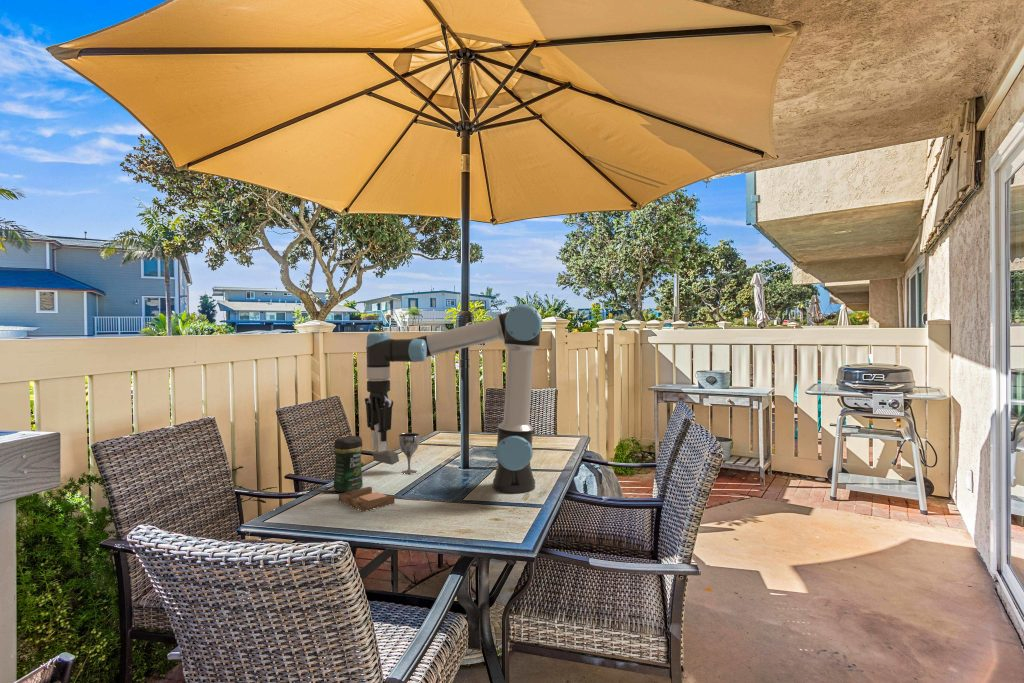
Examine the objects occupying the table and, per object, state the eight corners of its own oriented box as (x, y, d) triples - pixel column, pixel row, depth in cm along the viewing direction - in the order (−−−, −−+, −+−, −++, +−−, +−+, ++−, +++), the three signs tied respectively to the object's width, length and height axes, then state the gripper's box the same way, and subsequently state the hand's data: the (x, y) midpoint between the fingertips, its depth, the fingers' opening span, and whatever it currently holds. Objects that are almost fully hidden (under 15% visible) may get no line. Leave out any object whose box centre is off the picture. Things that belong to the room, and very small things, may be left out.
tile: (388, 502, 180) (388, 496, 180) (370, 507, 175) (370, 501, 175) (376, 497, 185) (376, 492, 185) (358, 502, 180) (358, 496, 180)
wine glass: (395, 474, 213) (395, 436, 213) (404, 469, 221) (403, 432, 220) (414, 475, 211) (414, 437, 211) (422, 470, 219) (422, 433, 219)
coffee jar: (344, 494, 188) (344, 440, 187) (330, 490, 192) (329, 437, 192) (366, 487, 196) (366, 435, 195) (352, 483, 200) (351, 433, 200)
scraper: (399, 461, 182) (391, 424, 179) (392, 464, 180) (383, 427, 177) (381, 456, 188) (372, 421, 186) (373, 460, 186) (365, 424, 184)
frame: (394, 503, 178) (394, 495, 177) (362, 511, 169) (362, 503, 169) (369, 493, 188) (369, 486, 188) (338, 501, 180) (338, 493, 180)
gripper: (402, 380, 179) (402, 451, 179) (374, 377, 189) (375, 445, 190) (382, 382, 173) (383, 455, 174) (355, 379, 184) (356, 448, 184)
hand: (379, 450), depth 182 cm, fingers closed on scraper, 3 cm apart
